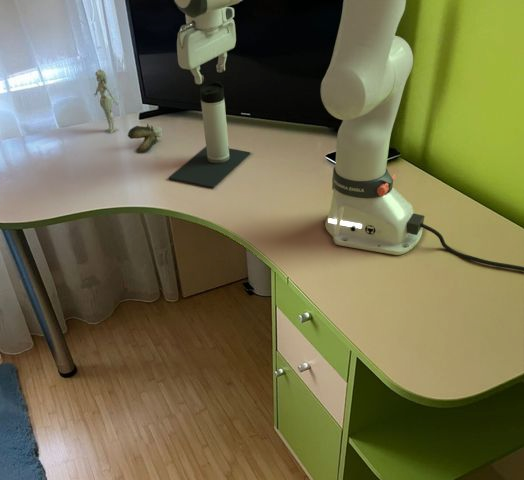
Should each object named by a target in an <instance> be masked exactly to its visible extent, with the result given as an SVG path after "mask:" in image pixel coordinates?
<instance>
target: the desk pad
mask: <svg viewBox="0 0 524 480" xmlns="http://www.w3.org/2000/svg"><path fill="white" fill-rule="evenodd" d="M250 155H251V152H250V151H246V150H240V149H234V148H229V157H230V158H229V160H228V161H226V162H224V163H219V164H216V163H211V162H209V161H208V157H207V148H206V146H205V147H204V148H202V149H201V150H200V151H199V152H197V153H196V154H195V155H194V156H193V157H192V158H190V159H189V160H188V161H187V162H186V163H184V164H183V165H181V166H180V167H179V168H178V169H177V170H175V171H174V172H173V173H172V174H171V175H170V176H168V180H169V181H173V182H174V181H175V182H179V183H184V184H189V185H192V186H193V185H194V186H199V187H204V188H208V189H212V190H213V189H214V188H215V187H217V186H218V185H219V183H221V182H222V181H223V180H224V179H225V178H226V177H227V176H228V175H229V174H231V173H232V172H233V171H234V170H235V169H236V168H237V167H238V166H239V165H240V164H241V163H242V162H243V161H244V160H246V159H247V158H248V157H249V156H250Z"/></svg>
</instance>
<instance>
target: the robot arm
mask: <svg viewBox="0 0 524 480" xmlns="http://www.w3.org/2000/svg"><path fill="white" fill-rule="evenodd" d="M243 1H244V0H173V3H174V4H175V6H176V7H177V8H178V9H179V10H180V11H181V12H182V13H183V14H185V23H186V24H182V25H181V26H180V28H179V31H178V32H177V39H176V51H177V52H176V53H177V62H178V65H179V67H180V68H181V69H184V70H190V72H191V74H192V76H193V77H194V83H195V84H196V85H201V84H203V83H204V82H205V78H204V75H203V74H201V72H200V70H201V65H204V64H205V63H207V62H209V61H212V60H213V59H215V58H217V57H218V58H217V59H218V60H217V64H216V65H215V67H216V72H217V73H223V72H225V71H226V61H227V57H228V52H229V51H231V50H233V49H234V48H235V47H236V42H237V34H236V33H237V32H236V24H235V20H234V19H233V18H235V8H234V7H231V6H233V5H238V4H239V3H240V2H243ZM406 5H407V0H343V2H342V11H341V17H340V23H339V27H338V30H337V35H336V39H335V44H334V47H333V52H332V56H331V59H330V63H329V66H328V68H327V70H326V73H325V75H324V77H323V79H322V81H321V83H320V98H321V102H322V104H323V106H324V108H325V109H326V111H327V112H328V114H330V115H331V116H332V117H334V118H336V119H338V120H341V121H342V122H341V124H340V126H339V128H338V131H337V134H336V145H335V146H336V149H335V163H334V164H335V165H334V167H333V170H332V180H331V185H332V186H331V187H332V188H331V189H332V198H331V203H330V208H329V211H328V214H327V217H326V219H325V222H324V226H325V229H326V231H327V232H328V233H329V234H330V235H331V237H332V239H333V242H334V244H335V245H337V246H342V247H347V248H353V249H359V250H365V251H370V252H375V253H376V252H377V253H383V254H388V255H394V256H401V255H403V254H406V253H409V251H411V250H412V249H413V248H415V247H416V245H417V244H418V243H419V241H420V240H421V238H422V235H423V229H424V230H425V231H428V232H430V233H432V234H434V235H435V236H436V237H437V238H438V240H439V242H440V244H441V246H442V247H443V248H444V249H445V250H446V251H447V252H449V253H451V254H453V255H456V256H457V257H460V258H463V259H465V260H469V261H473V262H476V263H480V264H483V265H488V266H493V267H498V268H504V269H510V270H516V271H521V272H524V266H522V265H515V264H509V263H503V262H497V261H492V260H488V259H483V258H480V257H476V256H472V255H469V254H465V253H462V252H459V251H457V250H455V249H453V248H452V247H450V246H449V245H448V244H447V243H446V241H445V239H444V237H443V235H442V233H440V232H439V231H438V230H437V229H435V228H433V227H431V226H429V225H427V224H425V223H424V221H425V215H424V214H418V213H415V211H414V207H413V205H412V204H411V203H410V202H409V201H408V200H407V199H406V198H405V197H404V196H403V195H402V194H401V193H400V192H398V190H397V189H396V188H394V187H393V185H394V182H395V180H396V178H397V177H396V175H397V173H396V172H395V173H394V174H393V175H392V176H391V174H390V172H389V171H388V168H387V163H388V157H389V149H390V142H391V135H392V132H393V128H394V124H395V121H396V118H397V115H398V111H399V108H400V104H401V100H402V96H403V94H404V93H403V92H404V89H405V86H406V83H407V81H408V78H409V75H410V74H411V72H412V69H413V65H414V55H413V51H412V48H411V46H410V44H409V43H408V41H406V40H405V39H404V38H402V37H401V36H398V35H396V33H397V30H398V27H399V24H400V22H401V19H402V17H403V15H404V12H405V9H406Z"/></svg>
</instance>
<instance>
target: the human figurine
mask: <svg viewBox="0 0 524 480" xmlns="http://www.w3.org/2000/svg"><path fill="white" fill-rule="evenodd" d="M94 74H95V77H96V78H95V79H96V81H97V87H96V89H95V93H94V94H93V96H94V97H96V96H98V95H99V94H100V99H99V104H100V107H101V108H102V110H103V113H104V115H105V117H106V121H107V124H108V129H106V132H108V133H110V134H111V133H113V132H115V131H116V128H115V126H114V122H115V119H114V116H113V114H112V111H113V106H112V105H113V104H115V105H116V106H119V104H120V102H119V101H118V100H117V99H115V96H114V94H113V93H112V92H111V91H110V88H109V85H108V76H107V74H106V72H105V71H104V69H97V71H95V73H94ZM106 91H107V92H108V94H109V95H108V94H106ZM98 93H99V94H98ZM112 101H113V102H112Z"/></svg>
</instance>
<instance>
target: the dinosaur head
mask: <svg viewBox="0 0 524 480" xmlns="http://www.w3.org/2000/svg"><path fill="white" fill-rule="evenodd" d="M162 135H163V129H162V128H161V127H160V126H155V127H154V126H153V125H149V124H148V123H146V126H141V125H140V126H139V125H135V126H133V127H131V128H130V129H129V130H128V132H127V137H128V138H129V140H134V139H136V140H137V139H143V140H142V142H141V144H140V145H139V146H138V147H137V148H136V149H135V150H136V153H138V154H142V153H147V152H149V151H150V150H151V148H153V146H155V145H156V144H157V142H159V140H158V138H162Z"/></svg>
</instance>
